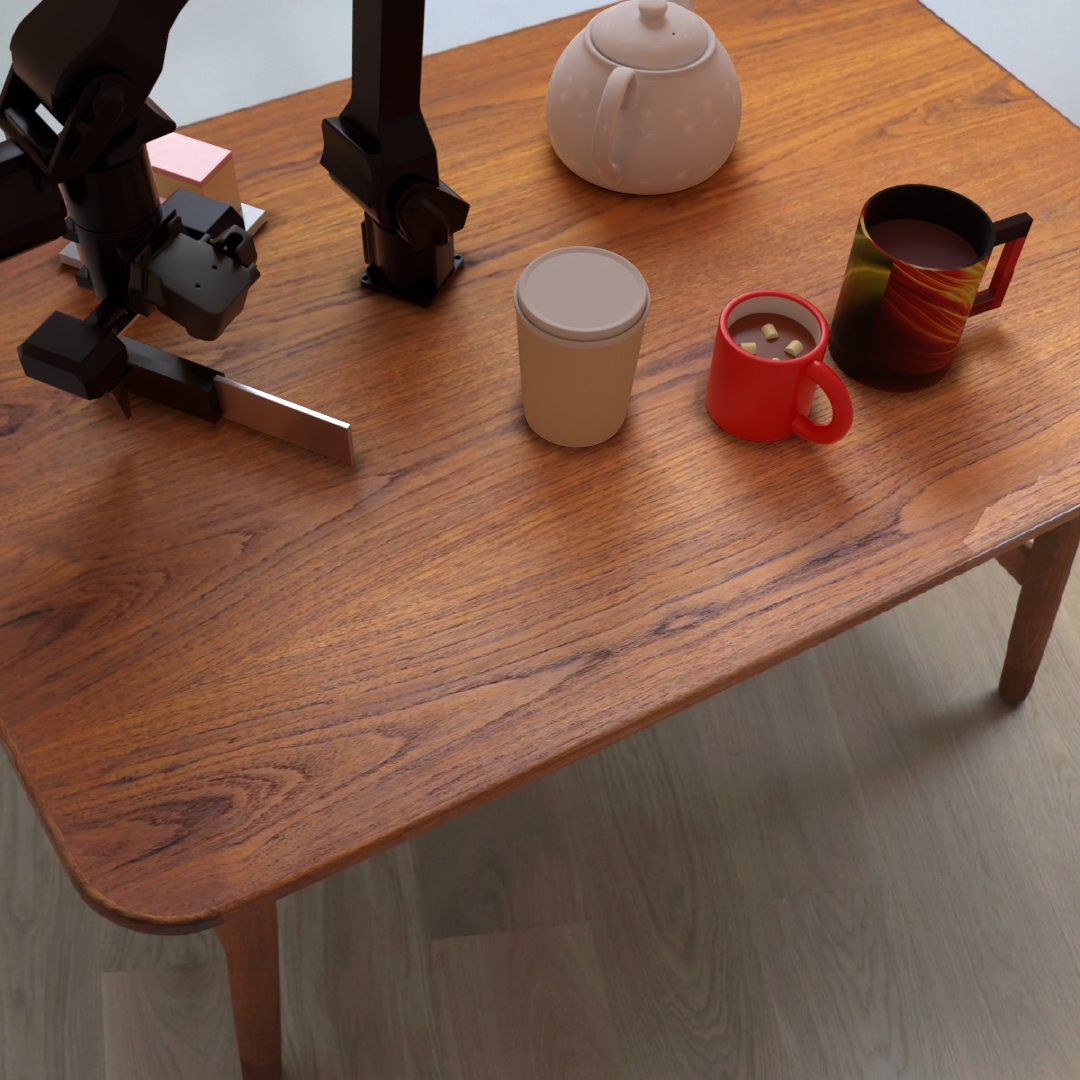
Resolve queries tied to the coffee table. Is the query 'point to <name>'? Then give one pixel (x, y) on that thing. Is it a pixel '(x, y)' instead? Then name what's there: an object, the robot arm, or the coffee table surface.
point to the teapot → (644, 99)
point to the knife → (232, 401)
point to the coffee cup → (579, 342)
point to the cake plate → (190, 179)
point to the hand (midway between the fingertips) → (161, 375)
